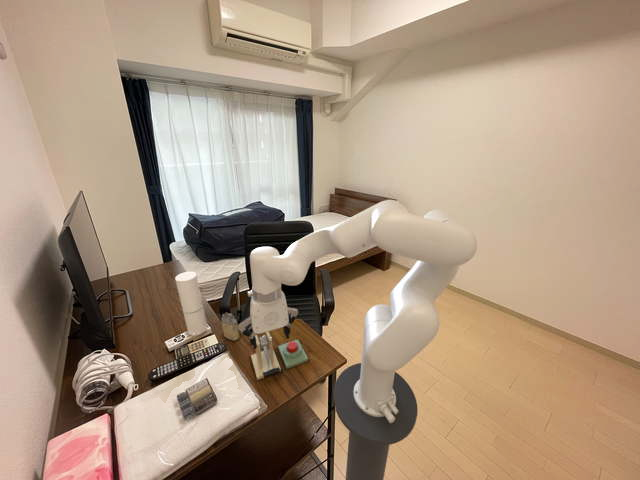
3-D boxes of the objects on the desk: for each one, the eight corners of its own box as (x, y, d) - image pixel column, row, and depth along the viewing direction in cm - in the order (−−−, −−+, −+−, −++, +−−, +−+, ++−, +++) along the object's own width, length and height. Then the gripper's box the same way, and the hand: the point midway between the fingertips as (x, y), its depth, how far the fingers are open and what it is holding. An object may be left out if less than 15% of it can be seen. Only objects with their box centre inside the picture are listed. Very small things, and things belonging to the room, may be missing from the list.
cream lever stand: (281, 371, 85) (279, 344, 81) (257, 380, 82) (253, 352, 77) (272, 350, 93) (270, 324, 89) (251, 357, 90) (247, 331, 86)
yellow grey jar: (241, 336, 100) (238, 315, 96) (234, 342, 97) (230, 321, 93) (228, 330, 103) (225, 310, 99) (221, 336, 100) (217, 315, 96)
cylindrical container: (208, 322, 107) (198, 270, 98) (204, 334, 101) (193, 280, 91) (190, 324, 106) (178, 272, 97) (185, 336, 100) (172, 282, 90)
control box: (308, 360, 89) (308, 354, 88) (286, 369, 86) (286, 362, 85) (298, 341, 97) (297, 335, 96) (278, 348, 94) (277, 342, 93)
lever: (279, 373, 79) (280, 371, 78) (264, 379, 77) (264, 377, 76) (269, 337, 87) (269, 334, 85) (254, 341, 85) (254, 338, 83)
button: (298, 350, 90) (298, 347, 89) (289, 354, 88) (289, 350, 88) (295, 343, 93) (295, 340, 92) (286, 347, 91) (285, 343, 91)
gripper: (236, 307, 62) (243, 359, 68) (302, 291, 69) (302, 340, 75) (232, 291, 68) (238, 340, 74) (292, 278, 75) (293, 324, 81)
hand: (270, 340), depth 75 cm, fingers open, 9 cm apart
